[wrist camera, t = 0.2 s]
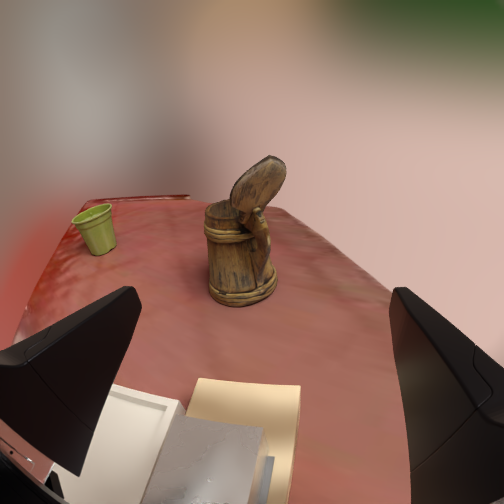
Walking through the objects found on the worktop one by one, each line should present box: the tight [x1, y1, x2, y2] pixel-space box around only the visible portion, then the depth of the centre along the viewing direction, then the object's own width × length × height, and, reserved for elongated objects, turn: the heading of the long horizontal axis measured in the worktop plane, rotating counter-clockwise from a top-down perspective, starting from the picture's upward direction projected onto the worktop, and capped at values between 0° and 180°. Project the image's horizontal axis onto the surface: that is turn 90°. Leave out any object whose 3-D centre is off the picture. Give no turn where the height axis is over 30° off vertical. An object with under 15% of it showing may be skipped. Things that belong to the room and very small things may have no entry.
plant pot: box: [72, 204, 116, 256], centre depth 52 cm, size 9×9×9 cm
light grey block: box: [142, 414, 269, 504], centre depth 10 cm, size 9×5×4 cm, turn 170°
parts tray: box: [52, 384, 186, 504], centre depth 16 cm, size 17×15×2 cm
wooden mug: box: [204, 155, 286, 307], centre depth 31 cm, size 9×14×18 cm, turn 34°
